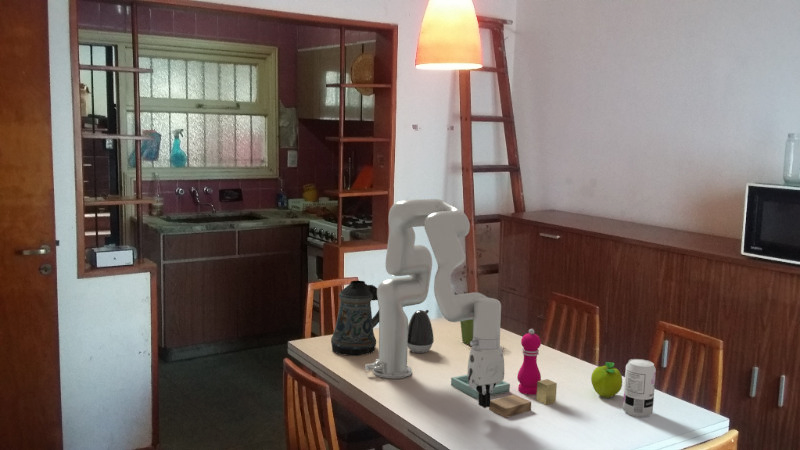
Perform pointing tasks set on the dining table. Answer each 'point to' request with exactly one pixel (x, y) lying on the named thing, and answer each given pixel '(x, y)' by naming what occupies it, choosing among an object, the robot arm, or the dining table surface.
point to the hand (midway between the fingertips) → (484, 405)
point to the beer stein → (355, 320)
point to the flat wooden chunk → (510, 405)
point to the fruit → (606, 380)
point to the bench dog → (546, 391)
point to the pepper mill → (529, 364)
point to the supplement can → (639, 388)
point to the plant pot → (467, 331)
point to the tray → (463, 383)
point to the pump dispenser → (420, 332)
